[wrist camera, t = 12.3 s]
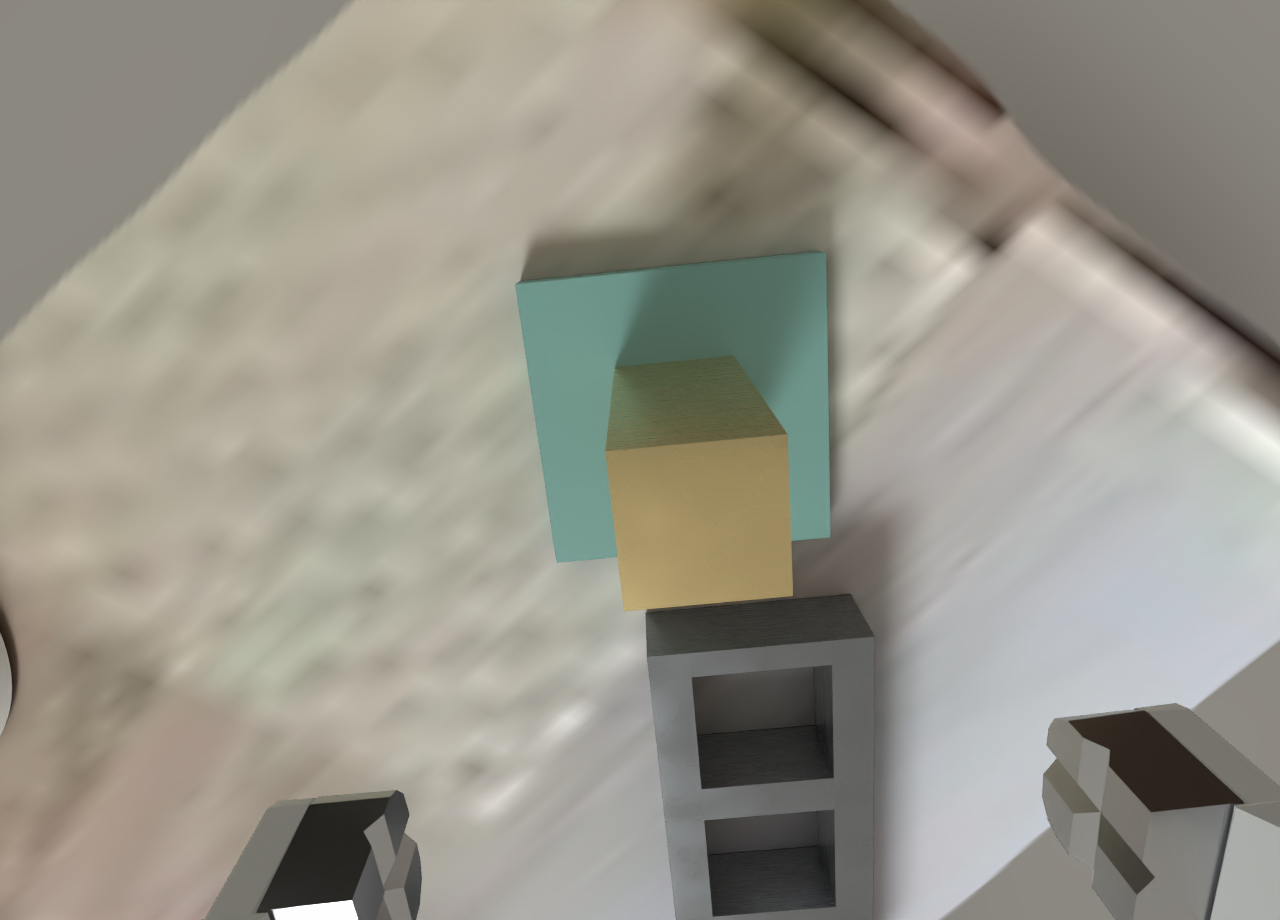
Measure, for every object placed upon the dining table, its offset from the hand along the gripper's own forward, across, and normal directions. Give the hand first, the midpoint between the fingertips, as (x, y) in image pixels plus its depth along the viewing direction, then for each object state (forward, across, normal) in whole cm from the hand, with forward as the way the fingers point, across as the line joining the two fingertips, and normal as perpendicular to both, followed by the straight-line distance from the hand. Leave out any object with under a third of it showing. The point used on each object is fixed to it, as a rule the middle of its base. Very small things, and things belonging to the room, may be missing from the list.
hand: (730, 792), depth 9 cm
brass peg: (+17, -1, 0) cm, 17 cm away
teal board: (+18, -1, 0) cm, 18 cm away
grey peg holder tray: (+18, -3, +18) cm, 26 cm away
